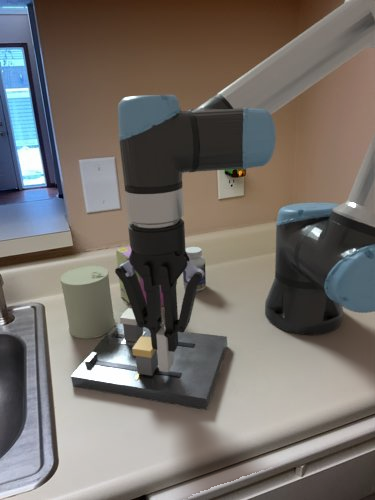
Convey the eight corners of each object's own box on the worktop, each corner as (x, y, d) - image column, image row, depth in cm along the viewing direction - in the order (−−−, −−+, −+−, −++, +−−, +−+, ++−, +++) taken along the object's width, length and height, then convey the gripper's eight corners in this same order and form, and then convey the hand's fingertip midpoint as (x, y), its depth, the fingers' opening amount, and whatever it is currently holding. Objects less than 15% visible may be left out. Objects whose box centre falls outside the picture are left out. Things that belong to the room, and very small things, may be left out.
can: (104, 340, 73) (96, 283, 69) (60, 337, 75) (49, 281, 71) (121, 315, 82) (115, 263, 77) (81, 313, 83) (73, 262, 79)
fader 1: (145, 332, 71) (143, 309, 69) (138, 343, 68) (135, 319, 66) (130, 330, 72) (127, 308, 70) (122, 340, 69) (119, 317, 67)
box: (165, 305, 85) (161, 256, 81) (142, 314, 82) (137, 263, 78) (142, 289, 93) (137, 243, 89) (120, 296, 90) (115, 249, 86)
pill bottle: (198, 294, 89) (197, 255, 86) (179, 289, 92) (177, 251, 88) (210, 285, 93) (209, 247, 90) (191, 280, 96) (189, 244, 93)
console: (227, 346, 70) (227, 331, 69) (206, 409, 55) (206, 393, 54) (117, 331, 76) (115, 318, 75) (72, 386, 61) (70, 370, 60)
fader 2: (160, 363, 62) (158, 338, 60) (153, 377, 59) (150, 351, 57) (143, 361, 63) (140, 336, 61) (135, 374, 60) (132, 348, 58)
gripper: (209, 213, 53) (212, 357, 61) (123, 210, 56) (137, 346, 65) (196, 230, 46) (201, 389, 54) (98, 225, 50) (117, 375, 58)
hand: (166, 365), depth 60 cm, fingers closed
